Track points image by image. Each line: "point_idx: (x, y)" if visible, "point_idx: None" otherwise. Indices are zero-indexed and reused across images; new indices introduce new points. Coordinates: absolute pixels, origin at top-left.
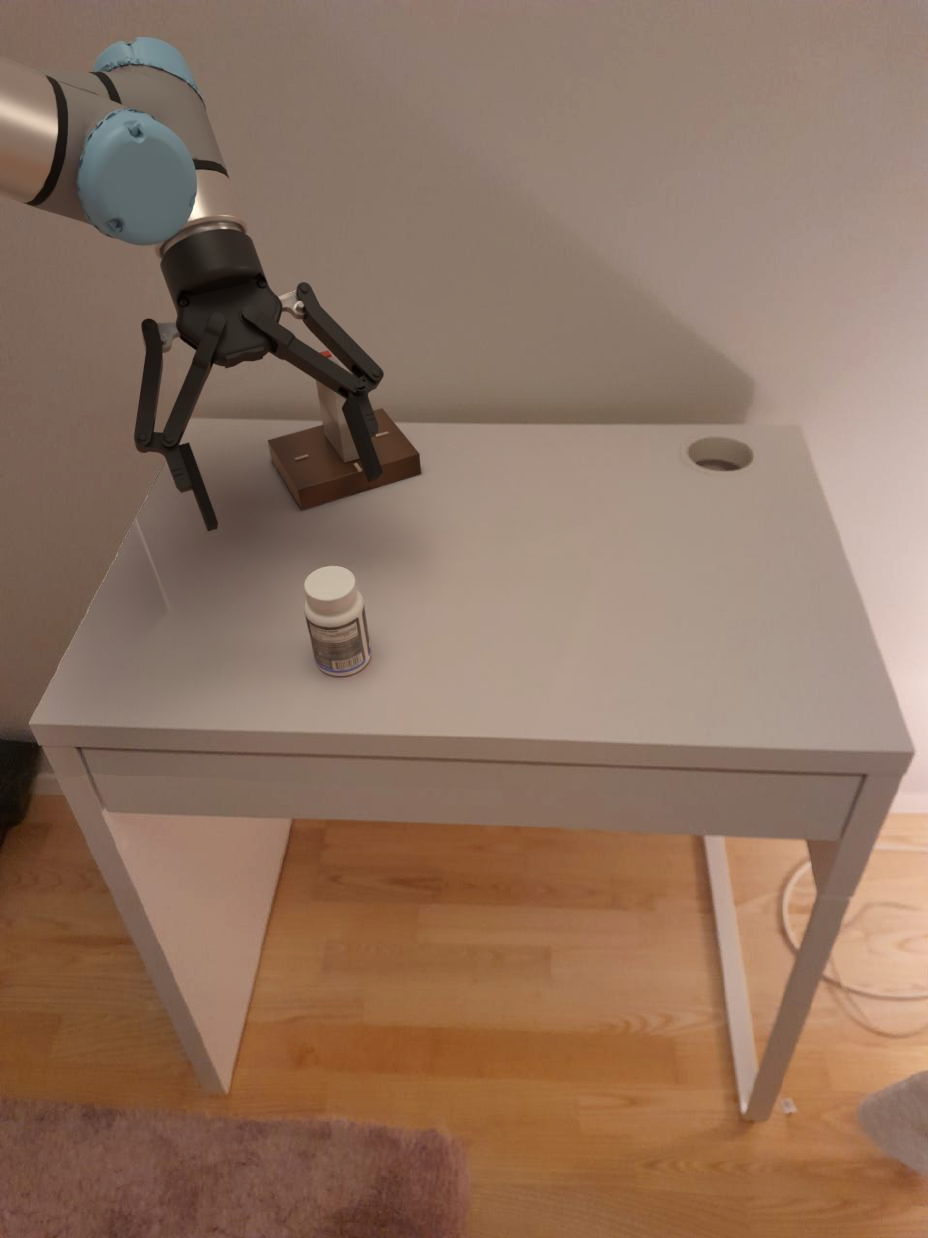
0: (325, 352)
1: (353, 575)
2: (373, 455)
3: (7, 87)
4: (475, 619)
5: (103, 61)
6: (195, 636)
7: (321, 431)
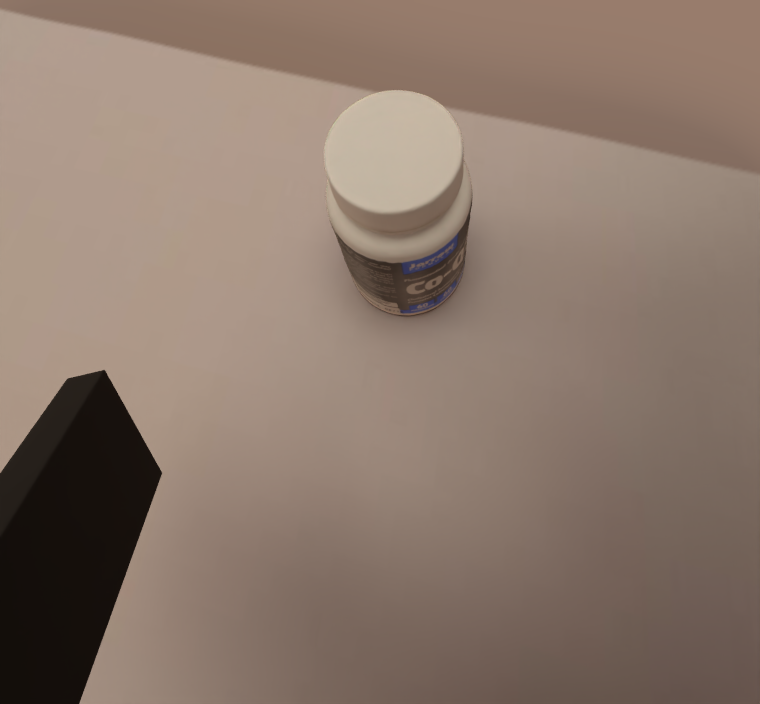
0: None
1: (324, 164)
2: (48, 425)
3: None
4: (137, 304)
5: None
6: (727, 402)
7: None
